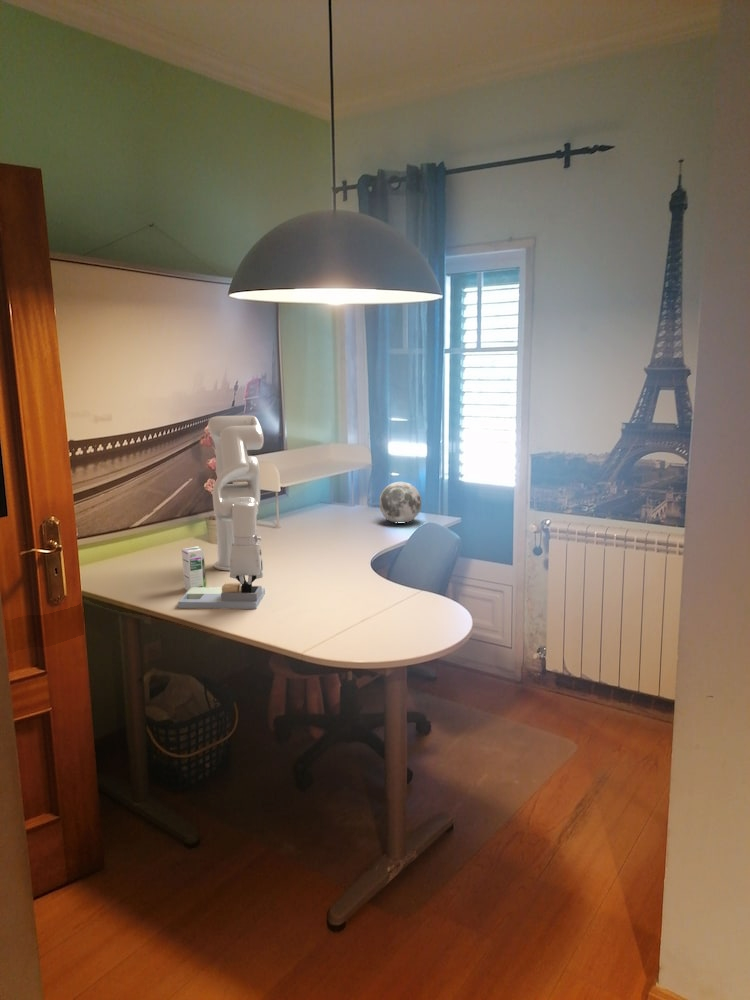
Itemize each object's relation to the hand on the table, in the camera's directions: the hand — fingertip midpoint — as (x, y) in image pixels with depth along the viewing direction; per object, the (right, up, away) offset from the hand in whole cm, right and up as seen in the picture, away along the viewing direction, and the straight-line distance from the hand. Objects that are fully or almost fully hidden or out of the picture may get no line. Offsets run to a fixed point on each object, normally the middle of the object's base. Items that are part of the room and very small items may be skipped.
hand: (247, 594), depth 238 cm
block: (-5, -1, 0) cm, 5 cm away
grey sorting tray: (-9, -2, +3) cm, 9 cm away
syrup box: (-21, 0, +15) cm, 25 cm away
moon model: (+53, +20, +112) cm, 126 cm away
